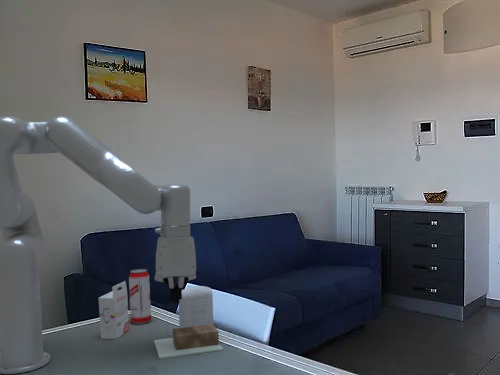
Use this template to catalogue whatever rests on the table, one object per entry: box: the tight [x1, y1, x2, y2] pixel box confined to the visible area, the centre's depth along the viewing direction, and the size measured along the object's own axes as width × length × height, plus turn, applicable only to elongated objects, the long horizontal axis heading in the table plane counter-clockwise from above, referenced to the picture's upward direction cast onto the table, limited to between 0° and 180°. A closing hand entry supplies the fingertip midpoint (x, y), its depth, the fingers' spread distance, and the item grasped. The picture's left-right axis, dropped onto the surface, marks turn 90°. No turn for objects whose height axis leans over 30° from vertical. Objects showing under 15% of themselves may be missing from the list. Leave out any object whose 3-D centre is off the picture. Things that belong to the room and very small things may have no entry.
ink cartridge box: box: [98, 280, 130, 340], centre depth 142 cm, size 9×5×15 cm, turn 168°
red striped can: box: [128, 268, 152, 325], centre depth 154 cm, size 6×6×16 cm
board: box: [153, 337, 224, 360], centre depth 130 cm, size 16×14×1 cm
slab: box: [172, 323, 220, 350], centre depth 130 cm, size 4×7×11 cm
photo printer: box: [178, 285, 214, 328], centre depth 145 cm, size 10×4×12 cm, turn 116°
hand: (175, 302), depth 129 cm, fingers closed
